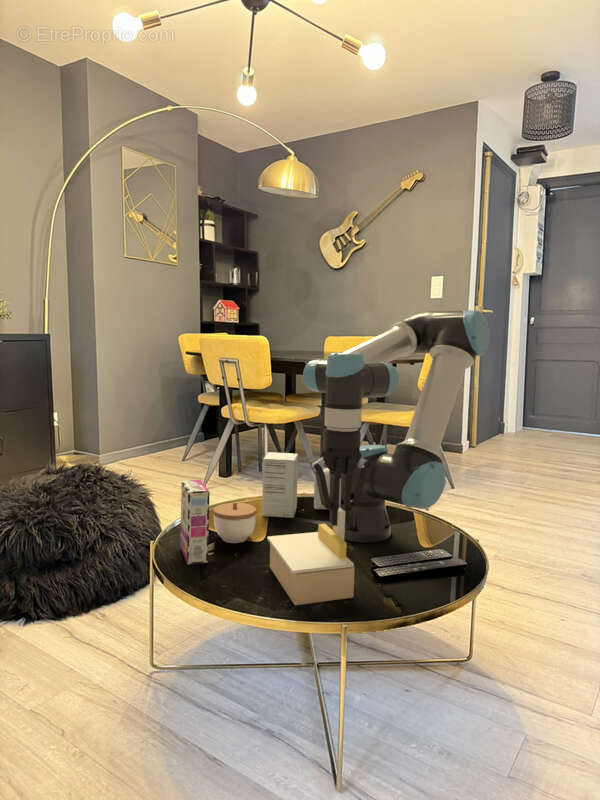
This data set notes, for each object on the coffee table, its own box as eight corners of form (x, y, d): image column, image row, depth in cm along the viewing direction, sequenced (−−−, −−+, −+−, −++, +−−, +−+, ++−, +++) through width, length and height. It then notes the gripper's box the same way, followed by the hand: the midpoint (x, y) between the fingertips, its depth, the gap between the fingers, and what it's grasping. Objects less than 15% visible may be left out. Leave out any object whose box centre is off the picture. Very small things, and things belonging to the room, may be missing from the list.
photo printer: (313, 509, 159) (314, 469, 158) (313, 505, 163) (314, 466, 162) (348, 511, 159) (349, 470, 158) (347, 506, 163) (348, 467, 162)
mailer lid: (320, 534, 120) (320, 518, 120) (353, 566, 103) (354, 548, 103) (267, 539, 116) (267, 523, 116) (292, 573, 99) (293, 555, 99)
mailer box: (320, 561, 121) (321, 535, 120) (353, 597, 104) (354, 567, 103) (269, 567, 117) (270, 540, 116) (294, 605, 100) (295, 574, 99)
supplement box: (266, 506, 161) (267, 451, 160) (297, 508, 160) (298, 453, 159) (261, 516, 152) (262, 458, 150) (293, 518, 151) (294, 459, 149)
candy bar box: (209, 563, 118) (210, 491, 117) (187, 565, 117) (187, 492, 115) (200, 545, 129) (201, 478, 127) (179, 547, 127) (180, 480, 125)
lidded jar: (217, 548, 127) (217, 510, 126) (209, 533, 137) (210, 497, 136) (260, 544, 130) (261, 507, 129) (250, 529, 140) (250, 495, 140)
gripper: (363, 425, 115) (359, 531, 117) (306, 426, 111) (303, 536, 113) (379, 430, 108) (374, 543, 110) (319, 431, 104) (315, 549, 106)
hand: (338, 539), depth 111 cm, fingers closed
